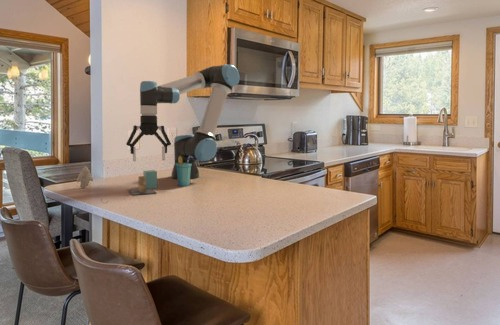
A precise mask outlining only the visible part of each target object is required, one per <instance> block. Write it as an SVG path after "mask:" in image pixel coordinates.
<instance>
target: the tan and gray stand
mask: <svg viewBox="0 0 500 325" xmlns="http://www.w3.org/2000/svg"><path fill="white" fill-rule="evenodd" d="M128 193H130V194H131V196H145V195H156V194H157V191H156V190H154V188H146V177H145V176H144V175H140V176H138V189H129V190H128Z"/></svg>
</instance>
